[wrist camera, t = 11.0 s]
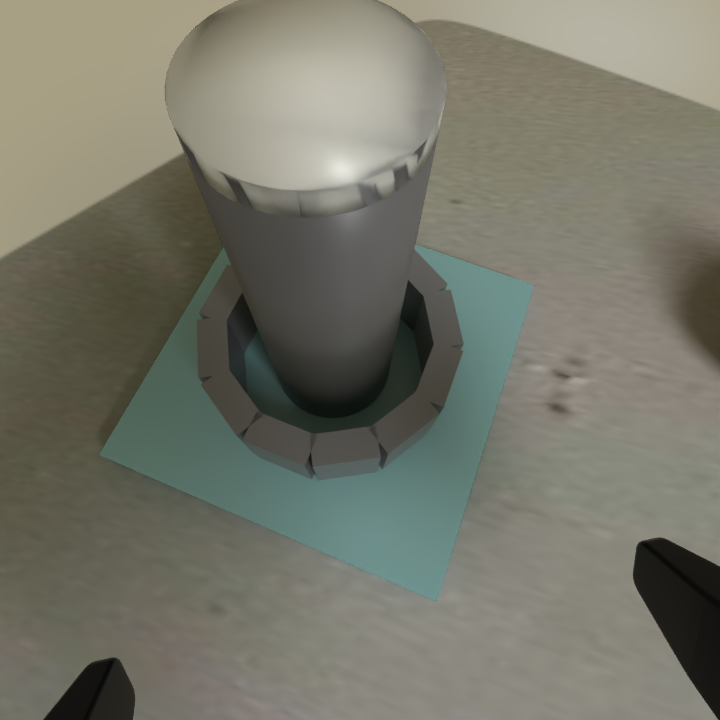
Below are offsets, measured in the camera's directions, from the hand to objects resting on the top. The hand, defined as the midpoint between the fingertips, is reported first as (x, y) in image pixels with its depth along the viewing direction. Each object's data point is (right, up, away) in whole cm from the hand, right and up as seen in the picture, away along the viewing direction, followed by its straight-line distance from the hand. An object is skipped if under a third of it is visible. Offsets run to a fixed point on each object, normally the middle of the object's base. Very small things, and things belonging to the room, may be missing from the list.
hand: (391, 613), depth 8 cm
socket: (-2, +4, +12) cm, 12 cm away
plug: (-2, +4, +11) cm, 12 cm away
